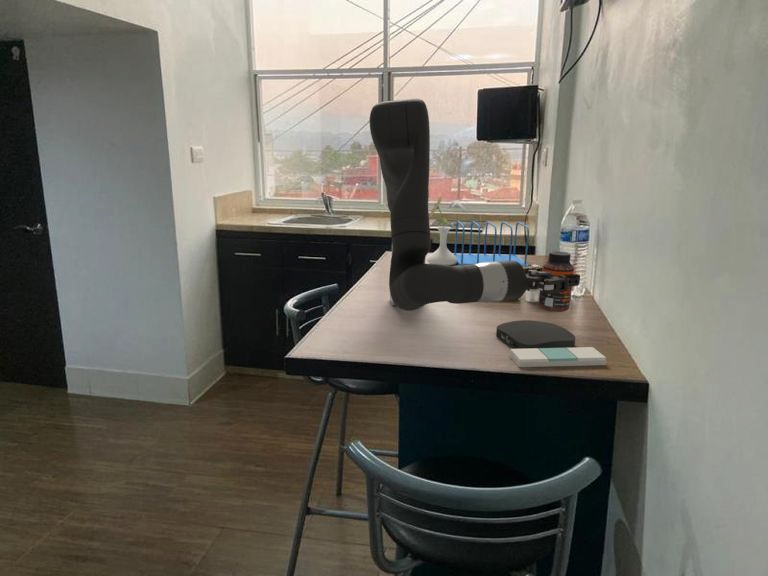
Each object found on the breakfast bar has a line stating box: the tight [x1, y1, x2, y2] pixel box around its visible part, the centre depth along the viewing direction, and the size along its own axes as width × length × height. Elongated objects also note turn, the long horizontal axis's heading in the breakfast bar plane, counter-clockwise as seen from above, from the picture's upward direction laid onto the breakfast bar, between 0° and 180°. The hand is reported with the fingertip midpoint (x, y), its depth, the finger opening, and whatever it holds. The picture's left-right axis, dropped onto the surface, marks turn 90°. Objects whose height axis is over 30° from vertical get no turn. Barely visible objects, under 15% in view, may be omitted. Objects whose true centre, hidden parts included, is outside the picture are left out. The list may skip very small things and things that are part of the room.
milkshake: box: [525, 290, 540, 303], centre depth 154 cm, size 4×5×10 cm
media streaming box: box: [495, 319, 576, 349], centre depth 123 cm, size 15×15×3 cm
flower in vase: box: [426, 196, 458, 266], centre depth 196 cm, size 13×11×25 cm
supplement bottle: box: [538, 250, 575, 313], centre depth 108 cm, size 6×6×11 cm
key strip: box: [509, 346, 607, 368], centre depth 112 cm, size 18×6×2 cm, turn 95°
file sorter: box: [452, 220, 530, 266], centre depth 202 cm, size 25×17×15 cm
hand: (567, 275), depth 108 cm, fingers closed on supplement bottle, 6 cm apart
